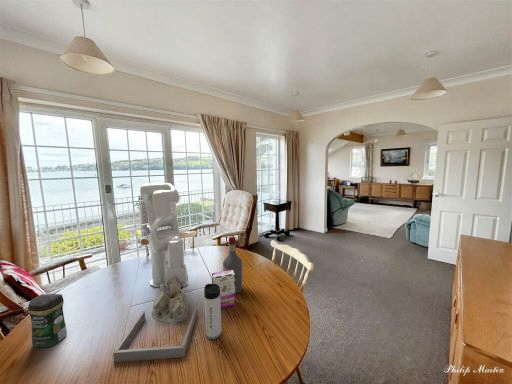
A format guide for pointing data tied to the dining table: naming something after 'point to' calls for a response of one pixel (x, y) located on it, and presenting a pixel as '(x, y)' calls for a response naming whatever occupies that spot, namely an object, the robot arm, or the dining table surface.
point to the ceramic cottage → (170, 304)
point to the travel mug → (212, 311)
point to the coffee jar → (47, 320)
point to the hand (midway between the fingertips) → (178, 297)
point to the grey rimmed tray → (151, 353)
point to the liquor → (234, 264)
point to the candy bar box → (226, 287)
